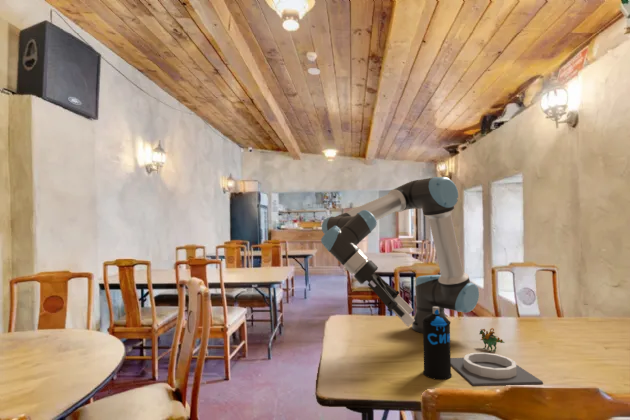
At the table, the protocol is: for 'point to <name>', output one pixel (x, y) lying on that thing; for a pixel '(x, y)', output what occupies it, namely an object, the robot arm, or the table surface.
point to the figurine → (490, 339)
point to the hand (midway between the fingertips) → (411, 317)
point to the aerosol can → (436, 346)
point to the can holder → (492, 370)
